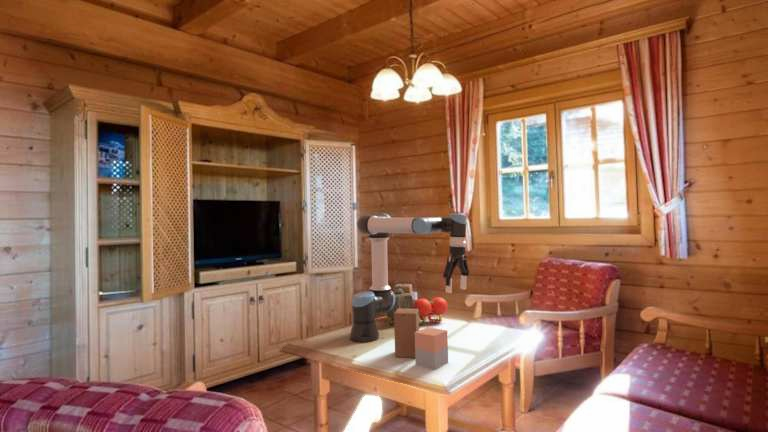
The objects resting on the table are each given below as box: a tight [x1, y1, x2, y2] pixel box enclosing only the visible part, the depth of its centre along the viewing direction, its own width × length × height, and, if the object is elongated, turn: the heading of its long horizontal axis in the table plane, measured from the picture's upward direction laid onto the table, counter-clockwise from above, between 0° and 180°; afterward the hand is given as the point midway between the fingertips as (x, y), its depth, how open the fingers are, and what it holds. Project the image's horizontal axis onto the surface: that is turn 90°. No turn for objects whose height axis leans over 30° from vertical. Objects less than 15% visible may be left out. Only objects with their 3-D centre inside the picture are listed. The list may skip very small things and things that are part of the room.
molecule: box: [413, 296, 449, 324], centre depth 260 cm, size 25×11×16 cm, turn 117°
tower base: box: [414, 347, 449, 370], centre depth 191 cm, size 10×10×7 cm
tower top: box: [415, 326, 449, 353], centre depth 191 cm, size 10×10×7 cm
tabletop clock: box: [385, 280, 414, 325], centre depth 260 cm, size 14×9×25 cm, turn 129°
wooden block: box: [393, 308, 420, 359], centre depth 205 cm, size 10×10×20 cm
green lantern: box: [393, 283, 414, 300], centre depth 275 cm, size 10×10×20 cm
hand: (456, 290), depth 211 cm, fingers open, 13 cm apart
